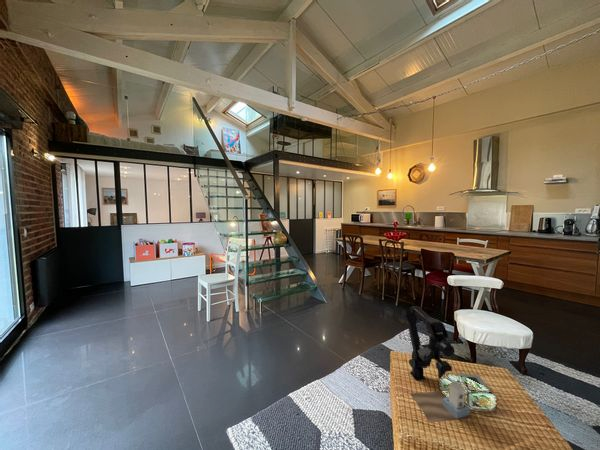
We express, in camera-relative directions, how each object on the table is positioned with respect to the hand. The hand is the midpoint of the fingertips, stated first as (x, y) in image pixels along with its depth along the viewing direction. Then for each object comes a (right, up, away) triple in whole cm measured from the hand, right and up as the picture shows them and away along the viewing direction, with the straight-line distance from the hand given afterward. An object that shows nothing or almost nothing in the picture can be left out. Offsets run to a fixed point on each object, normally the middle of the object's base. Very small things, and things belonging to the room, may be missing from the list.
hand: (433, 372), depth 127 cm
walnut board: (-1, -14, -6) cm, 15 cm away
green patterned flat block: (+28, -13, +8) cm, 31 cm away
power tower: (+6, -13, -9) cm, 17 cm away
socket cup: (+6, -13, -9) cm, 17 cm away
